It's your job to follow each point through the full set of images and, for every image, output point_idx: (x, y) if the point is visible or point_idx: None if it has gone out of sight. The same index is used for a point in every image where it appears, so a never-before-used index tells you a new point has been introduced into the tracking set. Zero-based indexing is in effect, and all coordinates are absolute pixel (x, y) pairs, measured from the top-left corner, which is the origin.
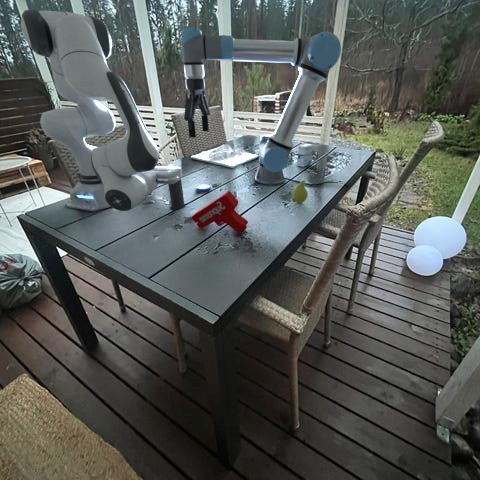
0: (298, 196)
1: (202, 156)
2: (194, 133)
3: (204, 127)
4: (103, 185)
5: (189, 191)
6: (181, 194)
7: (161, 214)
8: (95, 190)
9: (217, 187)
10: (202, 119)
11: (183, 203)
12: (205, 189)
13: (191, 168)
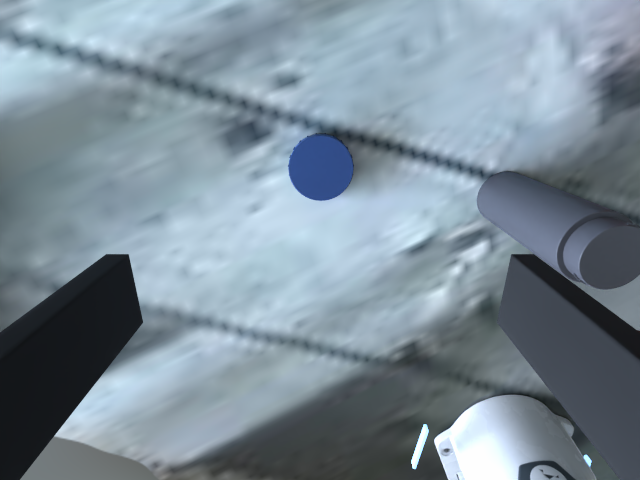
0: None
1: None
2: (565, 280)
3: (113, 323)
4: (571, 472)
5: (346, 222)
6: (546, 185)
7: None
8: (587, 473)
9: (260, 113)
10: (45, 431)
11: (515, 174)
12: (344, 145)
13: None
